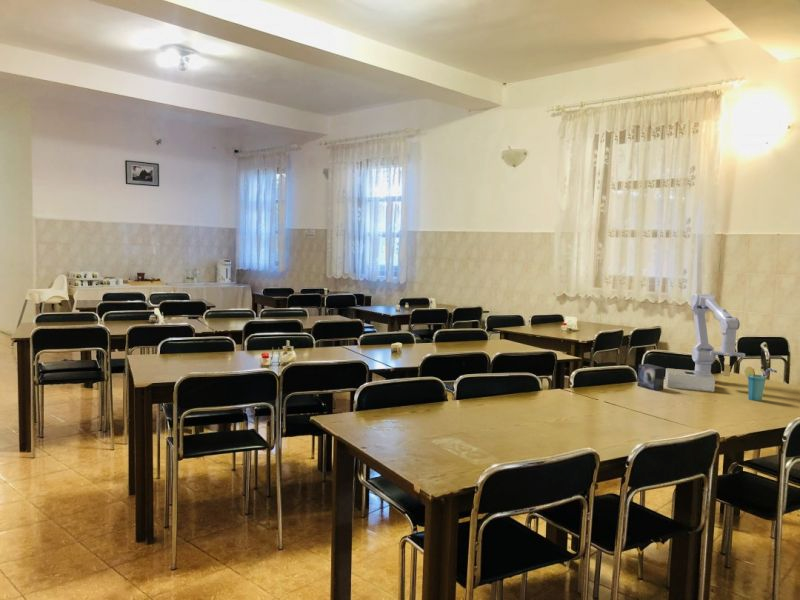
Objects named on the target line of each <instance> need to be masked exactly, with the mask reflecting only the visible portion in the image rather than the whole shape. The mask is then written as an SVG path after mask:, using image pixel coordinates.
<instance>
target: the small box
mask: <svg viewBox="0 0 800 600" xmlns="http://www.w3.org/2000/svg"><path fill="white" fill-rule="evenodd" d="M665 371H666V368H665V367H662V366H659V365H654V364H649V363H642V364H638V370H637V383H636V385H637V387H640V388H644V389H648V390H651V391H663V390H664V382H665Z"/></svg>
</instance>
